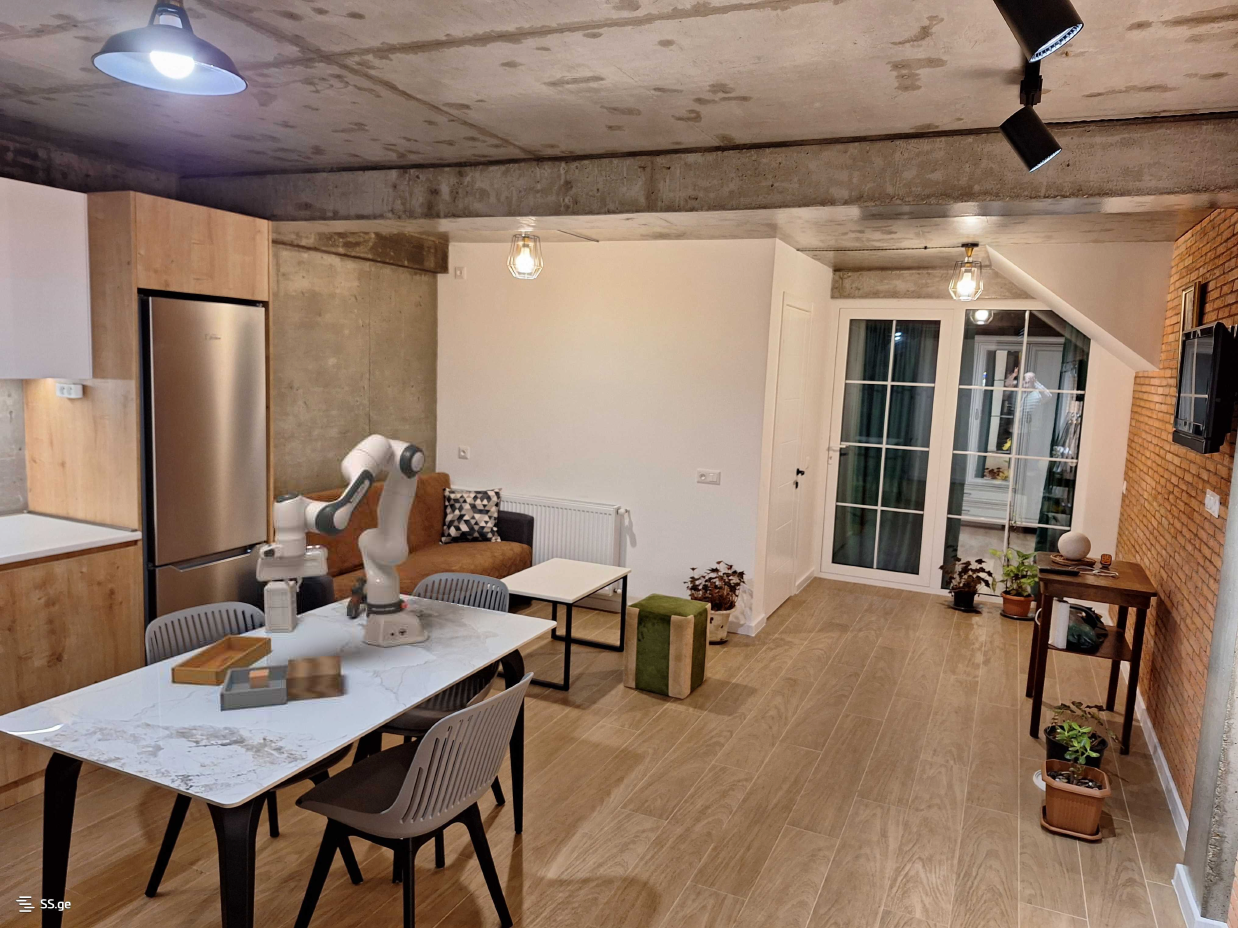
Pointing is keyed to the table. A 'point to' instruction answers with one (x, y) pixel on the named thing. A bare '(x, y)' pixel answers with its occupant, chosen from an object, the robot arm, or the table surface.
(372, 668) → the table surface
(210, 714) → the table surface
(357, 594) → the gun
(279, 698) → the bin
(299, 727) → the table surface
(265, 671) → the terracotta tile
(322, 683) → the walnut ledge
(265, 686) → the sage tile
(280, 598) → the white tall block
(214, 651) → the tray
